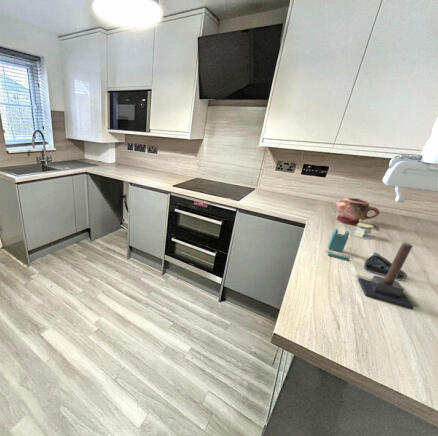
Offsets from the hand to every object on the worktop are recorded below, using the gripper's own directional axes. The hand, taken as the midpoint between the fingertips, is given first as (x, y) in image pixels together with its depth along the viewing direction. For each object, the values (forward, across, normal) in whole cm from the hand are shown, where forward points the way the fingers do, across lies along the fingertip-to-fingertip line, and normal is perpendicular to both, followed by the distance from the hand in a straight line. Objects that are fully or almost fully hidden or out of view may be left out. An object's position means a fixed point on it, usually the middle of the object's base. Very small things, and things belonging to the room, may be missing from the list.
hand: (420, 204), depth 70 cm
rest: (+29, -10, +20) cm, 37 cm away
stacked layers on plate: (+30, +6, +53) cm, 61 cm away
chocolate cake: (+30, +3, +12) cm, 32 cm away
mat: (+29, -1, -6) cm, 30 cm away
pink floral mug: (+30, +5, +73) cm, 79 cm away
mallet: (+26, -1, 0) cm, 26 cm away
